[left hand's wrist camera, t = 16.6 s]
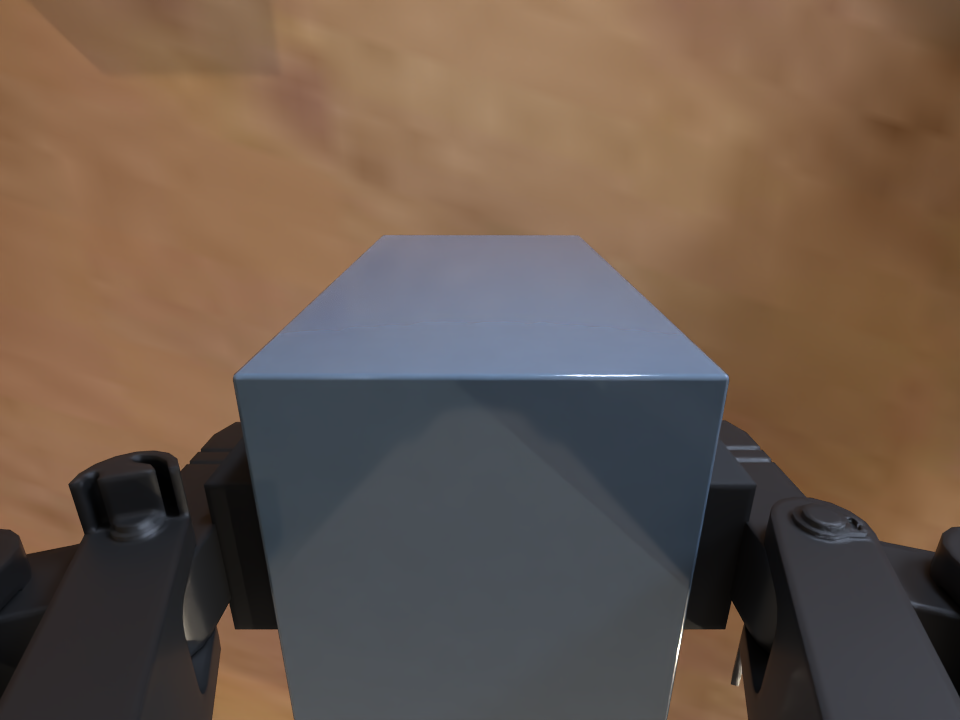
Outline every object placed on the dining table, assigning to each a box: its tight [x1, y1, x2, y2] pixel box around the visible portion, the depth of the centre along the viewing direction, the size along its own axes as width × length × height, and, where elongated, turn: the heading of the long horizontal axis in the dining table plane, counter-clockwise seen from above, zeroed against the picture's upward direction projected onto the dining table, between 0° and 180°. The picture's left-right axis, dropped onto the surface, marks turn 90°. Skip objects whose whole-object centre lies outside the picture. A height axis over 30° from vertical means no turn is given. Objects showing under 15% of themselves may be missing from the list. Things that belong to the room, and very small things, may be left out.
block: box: [233, 235, 729, 720], centre depth 13 cm, size 6×6×11 cm
